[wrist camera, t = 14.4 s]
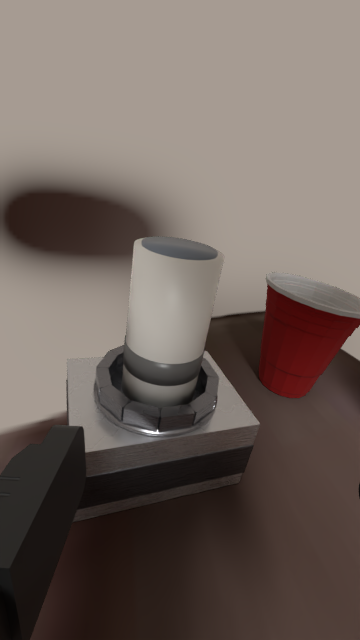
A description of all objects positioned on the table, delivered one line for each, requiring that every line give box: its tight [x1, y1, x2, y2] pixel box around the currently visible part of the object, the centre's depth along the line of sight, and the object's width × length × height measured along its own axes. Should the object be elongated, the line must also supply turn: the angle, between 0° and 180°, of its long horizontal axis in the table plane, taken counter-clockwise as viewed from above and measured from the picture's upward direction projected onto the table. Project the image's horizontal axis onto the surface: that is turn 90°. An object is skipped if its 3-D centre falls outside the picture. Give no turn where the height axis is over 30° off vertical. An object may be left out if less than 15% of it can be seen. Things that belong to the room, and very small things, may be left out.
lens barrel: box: [122, 237, 224, 408], centre depth 20 cm, size 5×5×10 cm
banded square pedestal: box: [67, 345, 260, 522], centre depth 23 cm, size 12×9×8 cm
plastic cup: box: [259, 272, 360, 398], centre depth 34 cm, size 11×11×12 cm
